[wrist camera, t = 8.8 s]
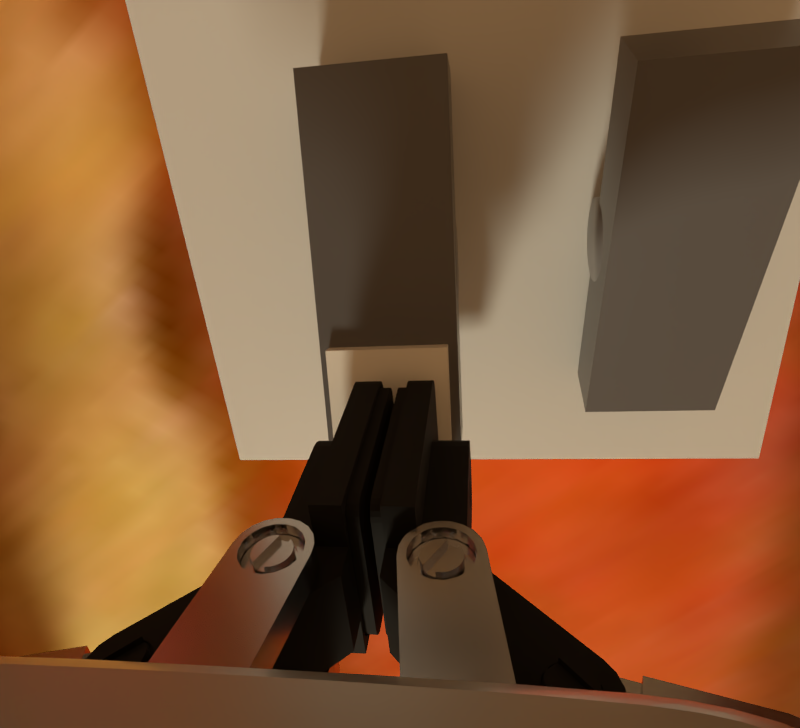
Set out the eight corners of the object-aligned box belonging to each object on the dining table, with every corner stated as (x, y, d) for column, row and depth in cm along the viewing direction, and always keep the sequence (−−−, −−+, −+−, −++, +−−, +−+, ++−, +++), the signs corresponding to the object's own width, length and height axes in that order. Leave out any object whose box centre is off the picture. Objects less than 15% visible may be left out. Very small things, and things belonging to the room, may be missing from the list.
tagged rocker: (463, 414, 15) (460, 454, 13) (350, 416, 16) (326, 455, 13) (451, 79, 13) (446, 48, 11) (322, 91, 14) (288, 64, 11)
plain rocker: (688, 346, 16) (714, 409, 14) (572, 350, 16) (585, 411, 14) (788, 5, 10) (851, 41, 9) (611, 22, 11) (637, 60, 9)
